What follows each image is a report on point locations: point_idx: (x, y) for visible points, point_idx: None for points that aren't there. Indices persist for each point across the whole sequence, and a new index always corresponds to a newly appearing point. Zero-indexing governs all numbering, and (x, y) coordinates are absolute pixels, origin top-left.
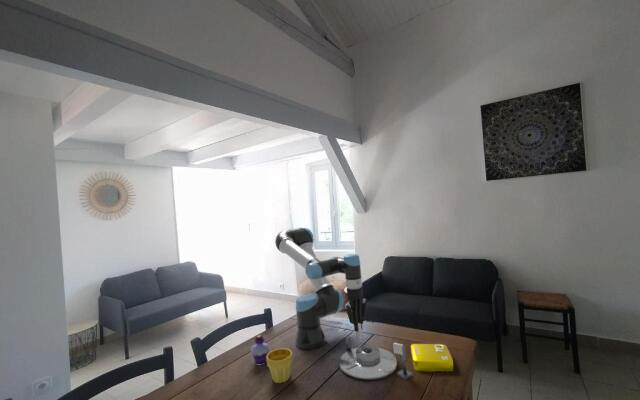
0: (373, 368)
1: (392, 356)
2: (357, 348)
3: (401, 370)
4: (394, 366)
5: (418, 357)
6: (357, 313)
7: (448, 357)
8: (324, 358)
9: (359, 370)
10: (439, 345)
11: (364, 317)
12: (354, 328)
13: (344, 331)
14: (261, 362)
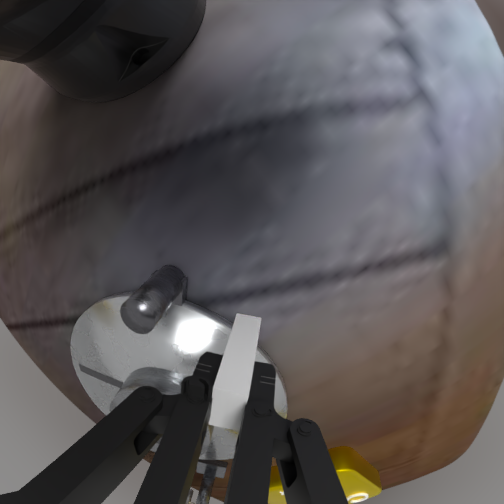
0: None
1: None
2: None
3: (213, 465)
4: (208, 458)
5: (270, 495)
6: (227, 495)
7: None
8: (66, 220)
9: (109, 399)
10: (365, 496)
11: (292, 475)
12: (196, 366)
13: (374, 55)
14: None
